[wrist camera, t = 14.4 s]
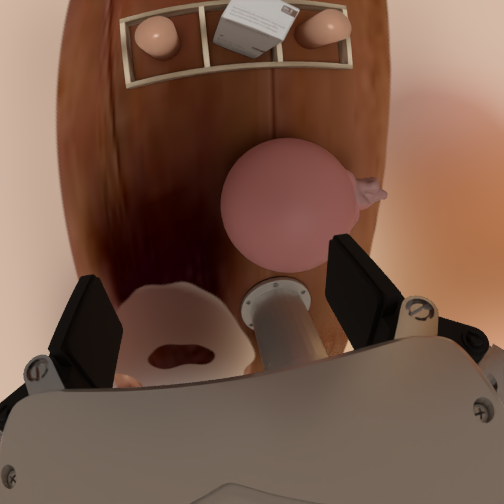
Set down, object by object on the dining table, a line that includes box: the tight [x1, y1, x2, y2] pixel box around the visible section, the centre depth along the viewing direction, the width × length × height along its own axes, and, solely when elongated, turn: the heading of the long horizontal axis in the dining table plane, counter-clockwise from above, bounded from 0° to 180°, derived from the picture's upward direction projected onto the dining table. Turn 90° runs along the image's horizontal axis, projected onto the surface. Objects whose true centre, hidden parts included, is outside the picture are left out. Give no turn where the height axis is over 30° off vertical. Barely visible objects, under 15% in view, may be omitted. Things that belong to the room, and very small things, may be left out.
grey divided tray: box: [120, 0, 353, 89], centre depth 24 cm, size 10×28×8 cm, turn 95°
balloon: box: [221, 138, 387, 273], centre depth 32 cm, size 15×20×15 cm
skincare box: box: [212, 0, 300, 59], centre depth 22 cm, size 6×4×12 cm
